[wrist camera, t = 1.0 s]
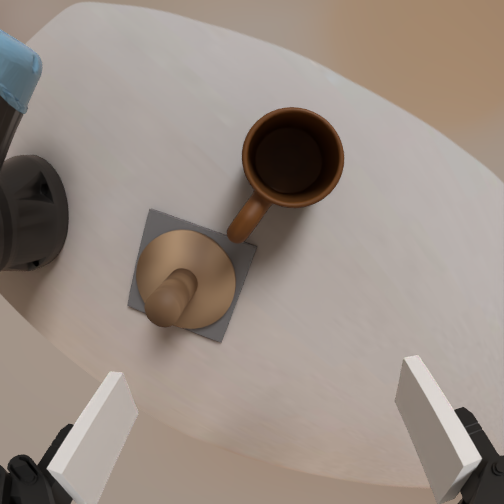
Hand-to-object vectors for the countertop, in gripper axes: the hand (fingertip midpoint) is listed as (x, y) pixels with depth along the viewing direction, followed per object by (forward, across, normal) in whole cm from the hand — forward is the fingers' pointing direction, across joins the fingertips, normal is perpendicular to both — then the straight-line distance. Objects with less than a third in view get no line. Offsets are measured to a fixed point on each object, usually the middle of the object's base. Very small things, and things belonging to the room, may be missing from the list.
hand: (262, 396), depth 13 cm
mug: (+21, +2, +8) cm, 23 cm away
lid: (+20, -9, -2) cm, 22 cm away
